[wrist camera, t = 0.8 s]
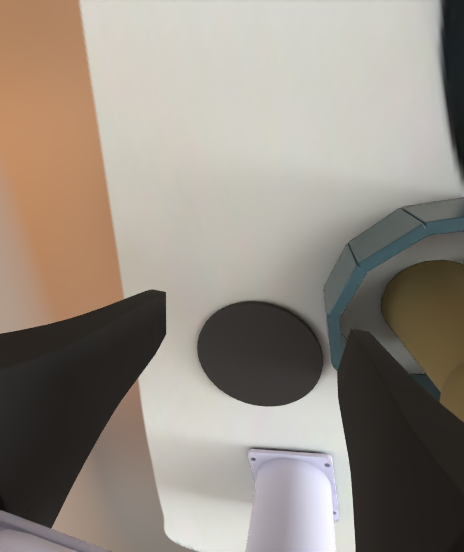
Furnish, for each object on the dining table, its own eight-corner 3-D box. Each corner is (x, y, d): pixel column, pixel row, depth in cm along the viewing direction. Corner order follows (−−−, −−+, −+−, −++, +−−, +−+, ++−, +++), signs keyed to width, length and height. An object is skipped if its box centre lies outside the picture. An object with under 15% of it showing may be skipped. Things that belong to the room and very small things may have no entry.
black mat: (328, 404, 25) (328, 408, 24) (213, 401, 28) (212, 405, 27) (315, 295, 21) (315, 298, 21) (185, 306, 24) (183, 308, 24)
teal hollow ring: (539, 381, 20) (591, 433, 16) (333, 381, 24) (337, 422, 20) (583, 178, 15) (670, 188, 11) (316, 219, 19) (318, 236, 15)
